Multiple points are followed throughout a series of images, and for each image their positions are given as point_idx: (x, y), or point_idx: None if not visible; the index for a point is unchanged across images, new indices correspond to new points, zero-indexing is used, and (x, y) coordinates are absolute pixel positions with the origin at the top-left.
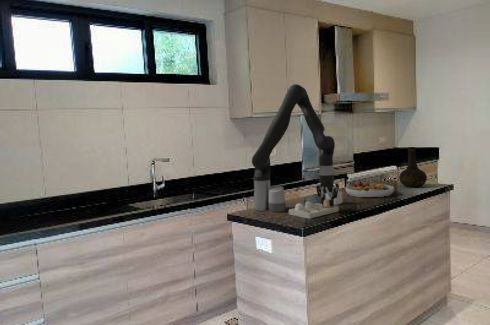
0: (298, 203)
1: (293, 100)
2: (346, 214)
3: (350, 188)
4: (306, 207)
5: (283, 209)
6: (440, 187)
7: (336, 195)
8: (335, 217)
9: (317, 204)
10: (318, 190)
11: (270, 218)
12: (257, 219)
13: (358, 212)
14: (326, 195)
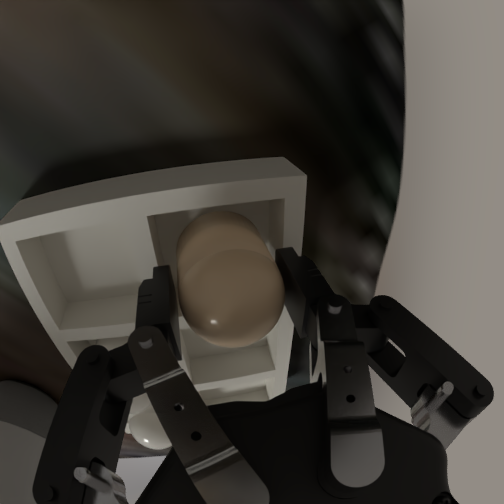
0: (152, 448)
1: None
2: (370, 167)
3: None
4: None
5: (55, 410)
6: None
7: (409, 327)
8: (351, 278)
9: (19, 237)
10: (116, 464)
11: (136, 441)
12: (128, 454)
13: (400, 55)
14: None
